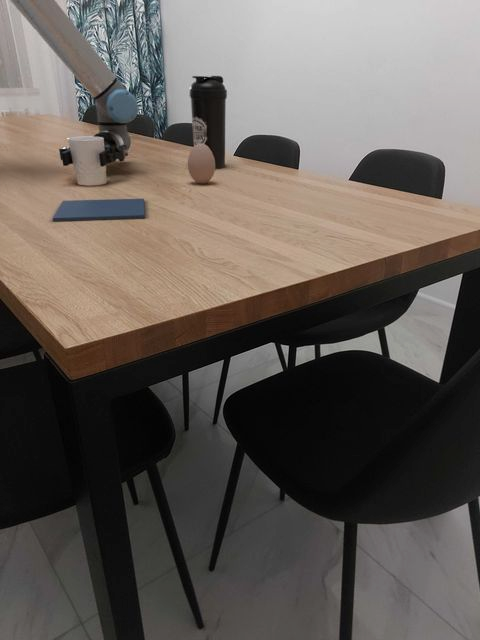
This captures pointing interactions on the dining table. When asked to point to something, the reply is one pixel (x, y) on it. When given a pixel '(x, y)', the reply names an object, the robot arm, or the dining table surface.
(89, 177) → the white cup
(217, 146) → the water bottle
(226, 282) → the dining table surface
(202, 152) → the egg
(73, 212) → the glassware mat
